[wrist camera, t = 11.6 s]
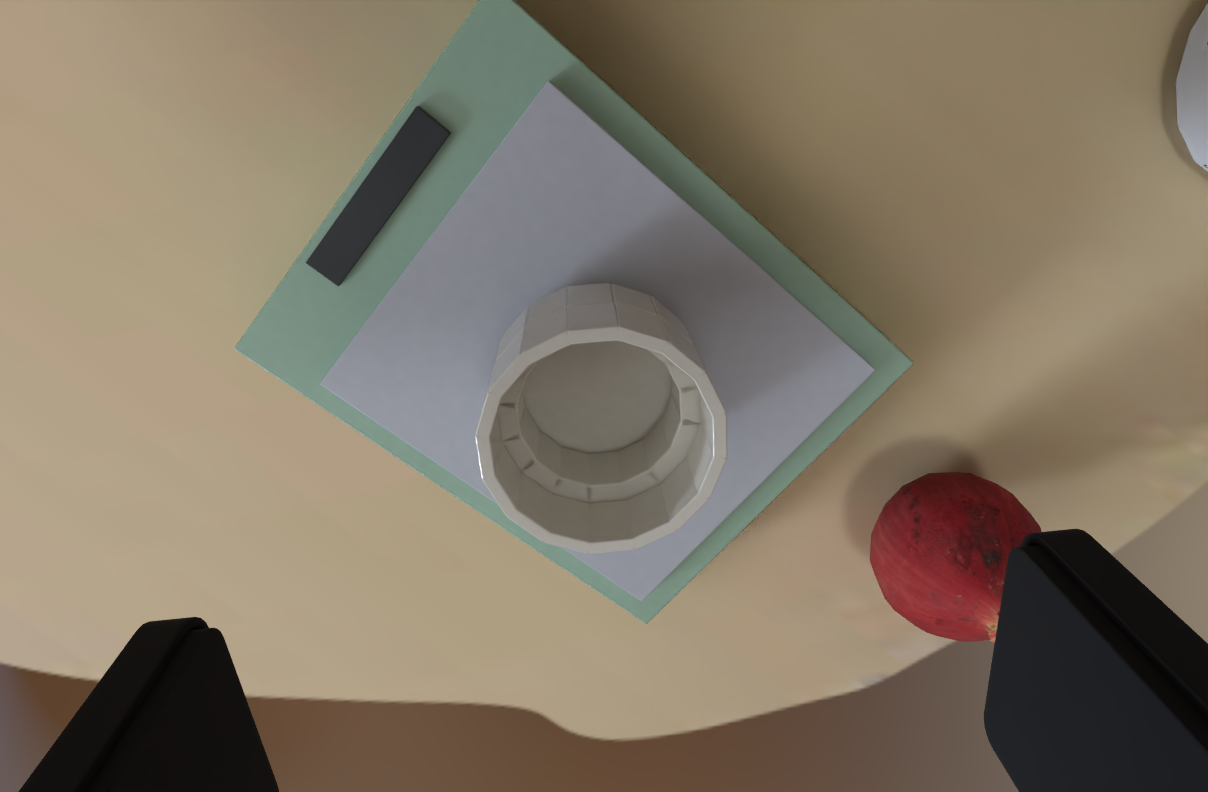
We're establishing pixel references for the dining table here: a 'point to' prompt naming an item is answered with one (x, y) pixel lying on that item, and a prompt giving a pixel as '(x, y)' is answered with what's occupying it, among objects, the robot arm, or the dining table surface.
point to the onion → (948, 552)
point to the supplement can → (1195, 91)
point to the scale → (558, 288)
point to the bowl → (600, 421)
